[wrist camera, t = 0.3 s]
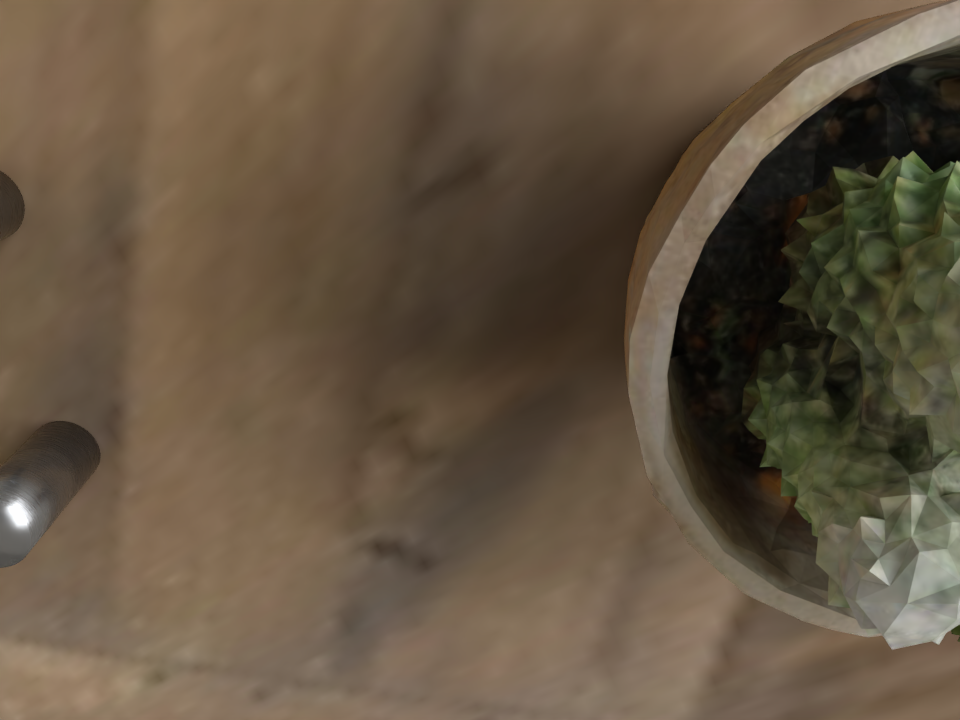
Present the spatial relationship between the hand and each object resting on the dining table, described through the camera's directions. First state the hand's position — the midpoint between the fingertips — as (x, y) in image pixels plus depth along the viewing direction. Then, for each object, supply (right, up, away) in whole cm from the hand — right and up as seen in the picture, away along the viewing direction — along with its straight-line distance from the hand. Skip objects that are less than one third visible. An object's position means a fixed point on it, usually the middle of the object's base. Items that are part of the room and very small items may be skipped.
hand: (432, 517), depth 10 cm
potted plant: (+14, +8, +27) cm, 31 cm away
